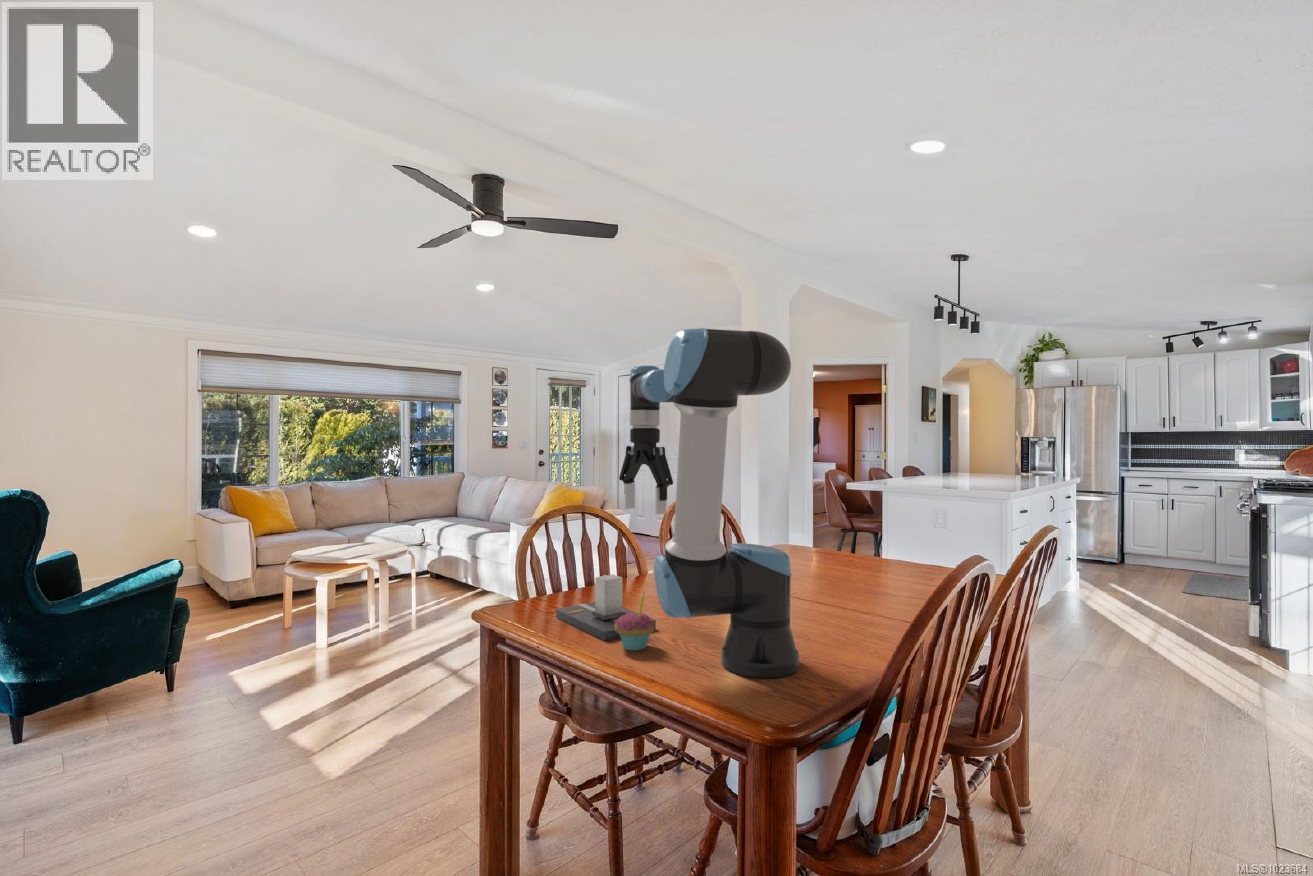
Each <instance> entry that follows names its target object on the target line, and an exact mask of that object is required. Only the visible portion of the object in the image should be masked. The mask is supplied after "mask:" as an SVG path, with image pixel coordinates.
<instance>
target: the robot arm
mask: <svg viewBox="0 0 1313 876" xmlns="http://www.w3.org/2000/svg"><path fill="white" fill-rule="evenodd" d="M669 343H670V344H669V346H668V349H667V352H666V355H665V356H666V357H665V360H664V366H663V367H664V368H663V369H662V368H661V369H660V368H659V367H658V366H655V365H634V366H633V367H631V369H630V376H629V384H630V385H629V389H630V390H629V391H630V392H629V396H630V397H629V399H630V400H629V401H630V405H629V406H630V410H629V412H630V413H629V426H631V427H632V428H630V430H629V431H630V432H629V433H630V434H629V435H630V436H629V441H630V443H633V445H626V447H625V456H624V460H623V461H622V462H623V463H622V467H621V470H620V473H619V476H618V479H619V481H622V483H623V484H624V490H623V491H624V509H625V510H628V509H635V508H636V483H635V482H636V481H635V479H636V476H637V475H638V473H639V471H640V468H641V467H642V465H645V466H647V467H648V468H649V471H650V473H651V475H652V477H653V478H654V481H655V483H656V486H655V515H663V514H664V515H665V514H667V500H668V487H670V486H673V485H674V480H673V477H672V473H671V470H670V467H669V463H668V460H667V456H666V447H665V446H657V444H658V443H660V441H661V431H660V430H661V429H660V428H658V427H659V426H660V420H661V419H660V418H661V414H660V411H661V410H660V409H661V407H660V406H661V405H660V404H661V403H672V404H673V405H674V406H675V408H676V409H677V410H678V411H679V413H680V420H679V421H680V422H679V435H678V436H679V437H678V439H679V441H678V456H677V474H676V487H675V488H676V493H675V505H674V506H675V507H674V524H673V525H674V526H673V527H674V529H673V536H672V537H671V539H669V540H668V541H667V542H666V543H665V547H664V554H660V555H658V556H656V557H655V558H654V562H653V572H654V575H653V576H654V583H655V588H656V593H657V597H658V601H659V604H660V606H661V609H662V610H663V612H664V613H665V614H666V615H667V616H668V617H670V618H686V619H691V618H698V617H700V618H701V617H711V616H722V615H724V616H725V615H730V619H729V620H730V623H729V626H728V629H727V633H726V635H725V640H724V641H725V642H724V644H723V646H722V649H721V652H720V653H721V654H720V655H721V660H720V662H721V665H722V666H723V667H724V668H725V669H726V670H727V671H730V672H732V673H734V674H737V675H741V676H745V677H750V678H758V679H759V678H760V679H772V678H773V679H775V678H782V677H786V676H790V675H792V674H794V673H796V672H797V671H798V670H799V668H800V653H799V651H798V649H797V647H796V643H795V639H794V635H793V632H792V627H791V586H792V585H791V584H792V583H791V581H792V580H791V578H792V571H791V560H790V556H789V555H788V553H786V552H785V551H784V550H781V549H778V548H775V547H771V546H767V545H761V544H755V543H744V542H743V543H742V542H741V543H739V542H738V543H732V544H730V548H729V552H727V547H726V546H725V544H723V542H722V541H721V540H720V531H721V520H722V506H723V505H722V503H723V490H724V489H723V488H724V479H725V478H724V477H725V476H724V474H725V462H726V447H727V434H728V419H729V418H728V417H729V415H730V414H732V412H734V411H735V409H736V408H737V407H738V399H739V397H738V396H759V395H764V394H765V395H766V394H771V393H773V392H776V391H777V390H779V389H780V388H781V387H783V385H785V383H786V382H787V381H788V378H789V377H790V374H791V368H792V362H791V357H790V354H789V352H788V349H787V348H786V347H785V345H784V344H783V343H782V342H781V341H780V340H779V339H777V338H776V337H774V336H772V335H771V334H768V333H766V332H762V331H758V330H734V329H714V328H704V327H702V328H685V329H684V328H683V329H682V330H679V331H678V332H676V334H675V335H674V336H673V337H672V339H671V341H670V342H669Z"/></svg>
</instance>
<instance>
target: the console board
mask: <svg viewBox="0 0 1313 876" xmlns="http://www.w3.org/2000/svg"><path fill="white" fill-rule="evenodd" d="M622 610H623V611H625V614H627V613H628V614H629V613H636V612H635V611H633V610H630V609H628V608H625V607H623V606H622ZM592 611H595V601H591V602H588V603H580V604H575V605H573V606H572V605H571V606H566V607H561V608H556V609H555V618H556V619H558V620H560V621H562V622H564V623H567V624H569V625H571V626H573V627H576V628H577V629H580V630H581V631H583V632H585V633H587V634H589V635H591V636H593V637H596V638H597V639H600V640H601V641H603V642H607V641H610V640H614V639H619V638H620V639H621V637H620V635H619V633H617V632H615V622H616V620H617V619H618V618H619V617H617V618H612V619H607V620H602V619H600V618H598V617H596V616H593V615H592ZM651 619H652V620H653V621H654V622H655V626H654V630H656V627H657V626H656V625H657V624H656V621H657V620H655V619H653V618H651Z"/></svg>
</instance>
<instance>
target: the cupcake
mask: <svg viewBox="0 0 1313 876" xmlns="http://www.w3.org/2000/svg"><path fill="white" fill-rule="evenodd" d="M644 594H645V591H642V594H641V595H640V601H639V606H638V612H635V613H629V614H628V613H627V614H625V615H622V616H621V617H619V618H618V619H617V620H616V622H615V632H617V633H619V635H620V639H621V642H622V646H623V648H624V649H625V650H627V651H641V650H644V649H646V648H647V644H648V641H649V637H650V635H651V634H653V632H654V630H655V629H654V626H655V622H654V621H653V620H654V619H653V618H651V617H649V615H647V614H646V613H643V612H642V611H643V606H644V599H645V595H644ZM652 619H653V620H652Z"/></svg>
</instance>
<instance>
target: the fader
mask: <svg viewBox="0 0 1313 876" xmlns="http://www.w3.org/2000/svg"><path fill="white" fill-rule="evenodd" d="M594 578H595V581H594V583H595V584H594V585H595V587H594V588H595V590H594V593H595V594H594V595H595V601H594V602H595V611H592V615H593V616H596V617H598V618H600V619H602V620H607V619H612V618H617V617H621V616H622V615H625V611H623V610H622V607H623V604H624V603H623V586H624V585H623V577H622V576H619V575H616V574H608V575H606V574H604V575H601V576H596V577H594Z"/></svg>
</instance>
